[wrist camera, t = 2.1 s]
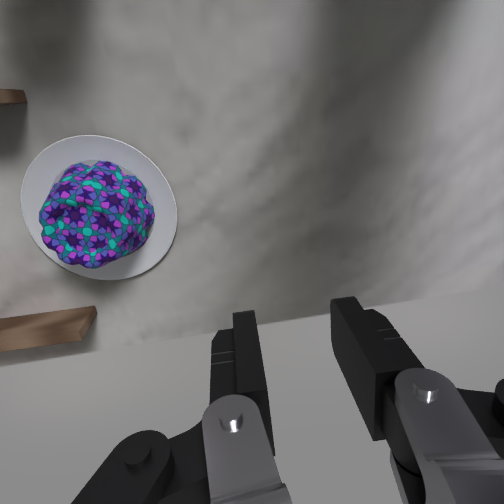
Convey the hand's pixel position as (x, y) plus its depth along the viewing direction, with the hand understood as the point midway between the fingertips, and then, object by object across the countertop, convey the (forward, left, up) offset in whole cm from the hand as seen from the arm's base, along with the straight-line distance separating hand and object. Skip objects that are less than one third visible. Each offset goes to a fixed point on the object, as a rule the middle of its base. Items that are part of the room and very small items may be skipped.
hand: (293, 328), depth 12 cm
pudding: (+11, -4, -20) cm, 23 cm away
